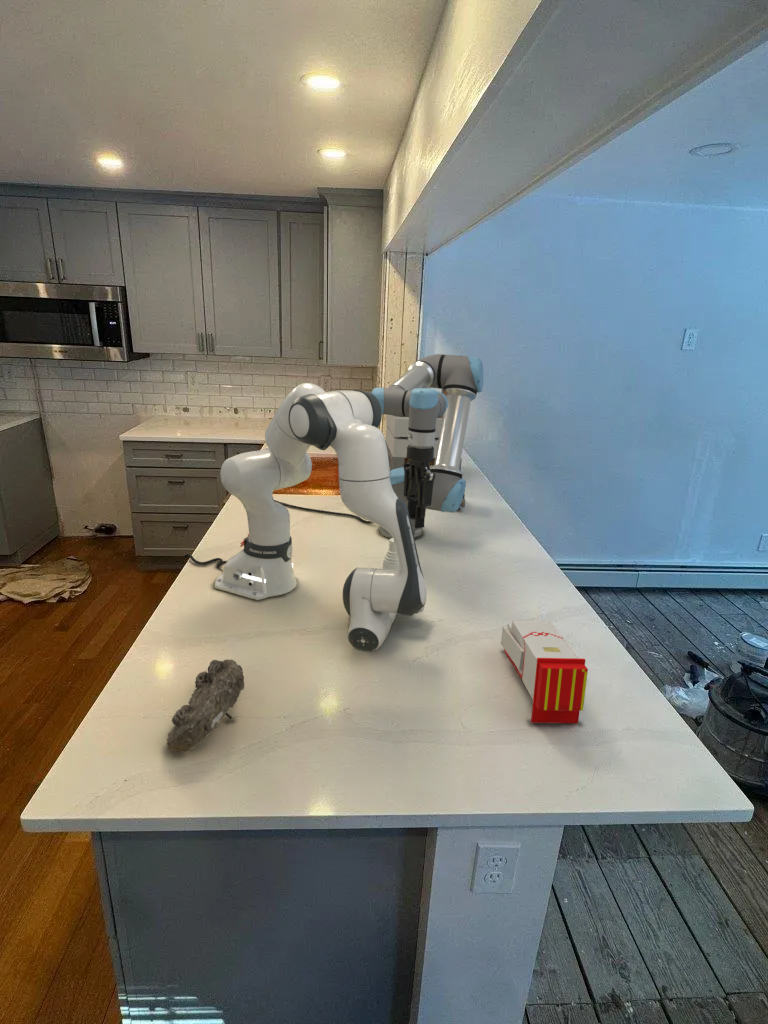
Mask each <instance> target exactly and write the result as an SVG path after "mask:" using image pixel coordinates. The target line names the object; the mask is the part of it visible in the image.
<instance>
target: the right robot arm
mask: <svg viewBox="0 0 768 1024" xmlns="http://www.w3.org/2000/svg"><path fill="white" fill-rule="evenodd" d="M483 388H484V365H483V361H482V359H481V358H480V357H478V356H471V355H455V354H444V353H438V354H437V353H436V354H435V353H434V354H430V355H427V356H425V357H422V358H419V359H417V360H416V361H413V363H411V364H410V365H409V367H408V368H407V371H406V372H405V373H404V374H403V375H401V376H400V377H399V378H398V379H396V380H395V381H394V382H392V384H390V385H389V386H388V387H374V388H373V389H372V391H371V392H370V393H372V394H373V395H374V396H375V397H376V398H377V399H378V401H379V403H380V406H381V410H382V416H383V415H385V416H386V415H397V416H407V417H409V426H408V444H409V445H408V446H407V459H408V460H410V461H409V463H404V467H402V468H396V469H393V470H391V471H390V481H391V485H392V488H393V490H394V492H395V494H396V496H397V497H398V498H399V499H401V500H402V501H404V502H405V504H406V506H407V509H408V512H409V516H413V515H415V526H412V528H413V533H414V538H415V539H418V538H420V537H421V536H422V535H423V528H425V520H426V519H425V518H426V511H427V510H432V511H437V512H441V513H445V512H446V513H456V512H457V511H459V509H458V508H459V506H460V504H461V502H462V499H463V496H464V494H465V492H466V486H467V482H466V480H465V479H464V478H463V476H464V475H463V473H462V470H461V471H460V470H459V466H460V460H461V458H462V454H463V448H464V443H465V437H466V431H467V426H468V419H469V415H470V409H471V403H472V401H474V400H475V399H477V394H479V393H482V392H483ZM436 389H440V390H442V389H443V393H441V392H442V391H438V390H436ZM442 415H443V418H442V424H441V429H440V435H439V440H438V446H437V452H436V457H435V463H434V466H432V465H430V466H429V463H430V461H432V460H433V457H434V448H433V446H434V445H435V429H436V419H437V418H439V417H441V416H442ZM273 500H274V501H275V502H278V503H280V504H282V505H284V506H285V507H289V508H293V509H297V510H298V509H299V510H303V511H307V512H314V513H321V514H322V513H323V514H329V515H334V516H335V515H336V516H342V517H343V516H344V517H350V518H354V519H357V520H359V521H360V522H362V523H364V524H369V525H371V524H374V523H373V522H370V521H368V520H365V519H362V518H360V517H358V516H357V515H355V514H353V513H345V512H336V511H329V510H322V509H315V508H308V507H303V506H297V505H293V504H289V503H285V502H282V501H278V500H276V499H273ZM460 507H461V506H460ZM378 533H379V534H380V535H381V536H382V537H385V538H387V539H389V540H390V539H391V538H393V537H392V535H391V534H390V533H389V532H388V531H387V530H386V529H384V528H382V527H381V526H379V525H378Z"/></svg>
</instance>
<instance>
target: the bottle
mask: <svg viewBox="0 0 768 1024" xmlns="http://www.w3.org/2000/svg"><path fill="white" fill-rule="evenodd" d="M382 569H393V570H399V569H400V566H399V561H398V557H397V552H396V547H395V542H394V539H393V538H391V539H390V538H389V541H388V549H387V551H386V553H385V555H384V557H383V560H382Z"/></svg>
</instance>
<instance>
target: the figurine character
mask: <svg viewBox="0 0 768 1024" xmlns="http://www.w3.org/2000/svg"><path fill="white" fill-rule="evenodd" d="M465 496H466V494H465V493H464V496H463V499H462V502H461V504H460V506H459V508H458V511H461V510H462V509H461V508H465V505H466V497H465Z"/></svg>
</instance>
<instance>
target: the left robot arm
mask: <svg viewBox="0 0 768 1024" xmlns="http://www.w3.org/2000/svg"><path fill="white" fill-rule="evenodd" d="M382 417H383V415H382V410H381V406H380V403H379V401H378V399H377V398H376V397H375V396H374V395H373V394H372V393H371V392H370V391H366V390H362V389H353V390H346V389H345V390H344V389H342V390H341V389H339V390H337V389H336V390H332V391H326V390H325V389H323V388H322V387H321V386H319V385H317V384H315V383H313V382H312V383H311V382H303V383H300V384H298V385H296V386H295V387H294V388H293V389H292V390H291V391H290V392H289V393H288V394H287V395H286V397H285V398H284V399H283V400H282V402H281V404H280V405H279V407H278V408H277V410H276V412H275V413H274V415H273V417H272V418H271V420H270V422H269V424H268V425H267V428H266V429H265V432H264V440H265V444H266V446H267V448H264V449H258V450H252V451H246V452H241V453H238V454H236V455H234V456H231V457H229V458H226V459H225V460H224V461H223V463H222V465H221V467H220V474H219V475H220V476H219V477H220V481H221V485H222V486H223V488H224V489H225V490H226V491H227V492H228V494H230V495H232V496H234V497H235V498H237V499H238V500H239V501H240V503H241V504H242V505H243V508H244V510H245V512H246V517H247V525H248V534H247V536H246V537H245V538H243V540H242V541H241V542H240V548H242V547H243V549H241V550H240V551H238V552H237V553H235V554H233V556H231V557H230V558H229V559H227V560H223V558H220V557H215V558H211V559H209V560H207V561H206V560H205V561H198V560H197V559H195V558H194V556H193V555H192V554H190V553H186V554H184V556H183V558H189V559H190V560H191V561H192V562H193V563H195V564H196V565H199V566H205V565H208V564H211V563H214V562H217V564H216V567H217V568H220V567H221V566H223V565H224V568H223V570H222V571H223V572H222V573H220V574H219V575H218V576H217V578H216V579H215V581H214V582H215V583H214V588H215V589H217V590H220V591H225V592H227V593H231V594H233V595H234V594H235V595H238V596H241V597H244V598H248V599H251V600H256V601H260V600H265V599H267V598H269V597H277V596H281V595H285V594H288V593H290V592H291V591H294V589H295V588H296V587H297V584H298V581H297V579H296V576H295V572H294V563H293V562H292V561H293V560H292V557H293V538H292V536H291V515H290V511H289V510H288V508H287V506H284V505H282V504H280V503H278V502H275V501H274V500H275V499H274V494H273V493H274V491H277V490H282V489H286V488H290V487H295V486H296V485H298V484H300V483H303V482H304V481H307V480H308V479H309V478H310V476H311V474H312V471H313V463H312V462H313V461H312V458H311V456H310V454H309V453H308V450H309V449H310V447H311V446H313V447H315V448H317V449H318V450H320V451H326V450H328V448H329V447H331V448H332V449H333V451H334V452H335V454H336V455H337V462H338V464H337V465H338V486H339V487H338V488H339V495H340V499H341V501H342V503H343V505H344V506H345V508H346V509H347V510H349V512H351V514H352V515H355V516H358V517H360V518H361V519H363V520H365V521H370V522H373V524H375V525H377V526H378V527H379V526H381V527H382V528H384V529H386V530H387V531H388V532H389V533H390V534H391V535H392V537H393V539H394V542H395V547H396V552H397V557H398V561H399V566H400V569H399V570H393V569H383V568H377V567H356V568H354V569H353V570H352V571H351V572H350V573H349V574H348V576H347V577H346V579H345V581H344V583H343V588H342V602H343V607H344V609H345V611H346V613H347V615H348V616H349V617H350V619H349V625H348V630H347V641H348V642H349V645H351V646H352V648H354V649H355V650H358V651H360V652H364V653H365V652H366V653H367V652H369V653H371V652H373V651H376V650H378V649H379V648H380V647H381V646H382V645H383V644H384V642H385V640H386V638H387V637H388V635H389V633H390V630H391V628H392V625H393V623H394V621H395V619H396V617H397V615H403V616H408V617H412V616H414V615H416V614H417V615H418V614H419V613H423V611H424V610H425V606H426V603H427V595H428V589H427V584H426V580H425V578H424V577H425V576H424V574H423V571H422V567H421V563H420V558H419V553H418V548H417V543H416V538H414V533H413V528H412V524H411V520H410V516H409V512H408V509H407V506H406V504H405V502H404V501H402V500H401V499H399V498H398V497H397V496H396V494H395V492H394V490H393V488H392V485H391V481H390V467H389V458H388V452H387V446H386V441H385V438H386V437H385V435H384V433H383V431H382V430H381V429H380V428H379V427H380V425H381V423H382V419H383V418H382Z"/></svg>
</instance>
